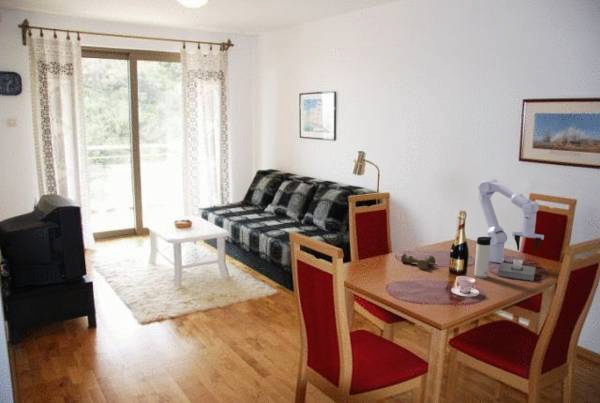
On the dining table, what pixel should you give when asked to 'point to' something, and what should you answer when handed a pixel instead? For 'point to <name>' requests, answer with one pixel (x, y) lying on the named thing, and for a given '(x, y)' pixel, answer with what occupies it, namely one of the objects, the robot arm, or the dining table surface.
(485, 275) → the travel mug
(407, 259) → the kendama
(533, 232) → the robot arm
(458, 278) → the teacup
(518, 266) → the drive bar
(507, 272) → the socket plate
